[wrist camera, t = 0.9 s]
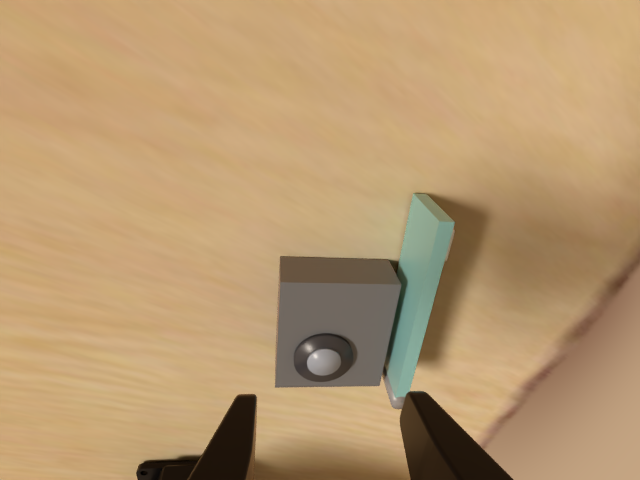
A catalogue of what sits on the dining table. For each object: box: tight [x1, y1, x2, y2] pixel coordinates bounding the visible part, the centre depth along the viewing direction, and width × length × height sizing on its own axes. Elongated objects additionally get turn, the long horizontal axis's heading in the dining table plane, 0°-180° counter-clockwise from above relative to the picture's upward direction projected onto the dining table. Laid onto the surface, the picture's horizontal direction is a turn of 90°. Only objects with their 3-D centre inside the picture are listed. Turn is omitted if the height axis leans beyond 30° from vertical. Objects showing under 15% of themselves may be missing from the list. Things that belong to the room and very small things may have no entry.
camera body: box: [275, 257, 401, 387], centre depth 21 cm, size 7×6×3 cm
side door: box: [382, 193, 455, 409], centre depth 20 cm, size 12×1×4 cm, turn 175°
